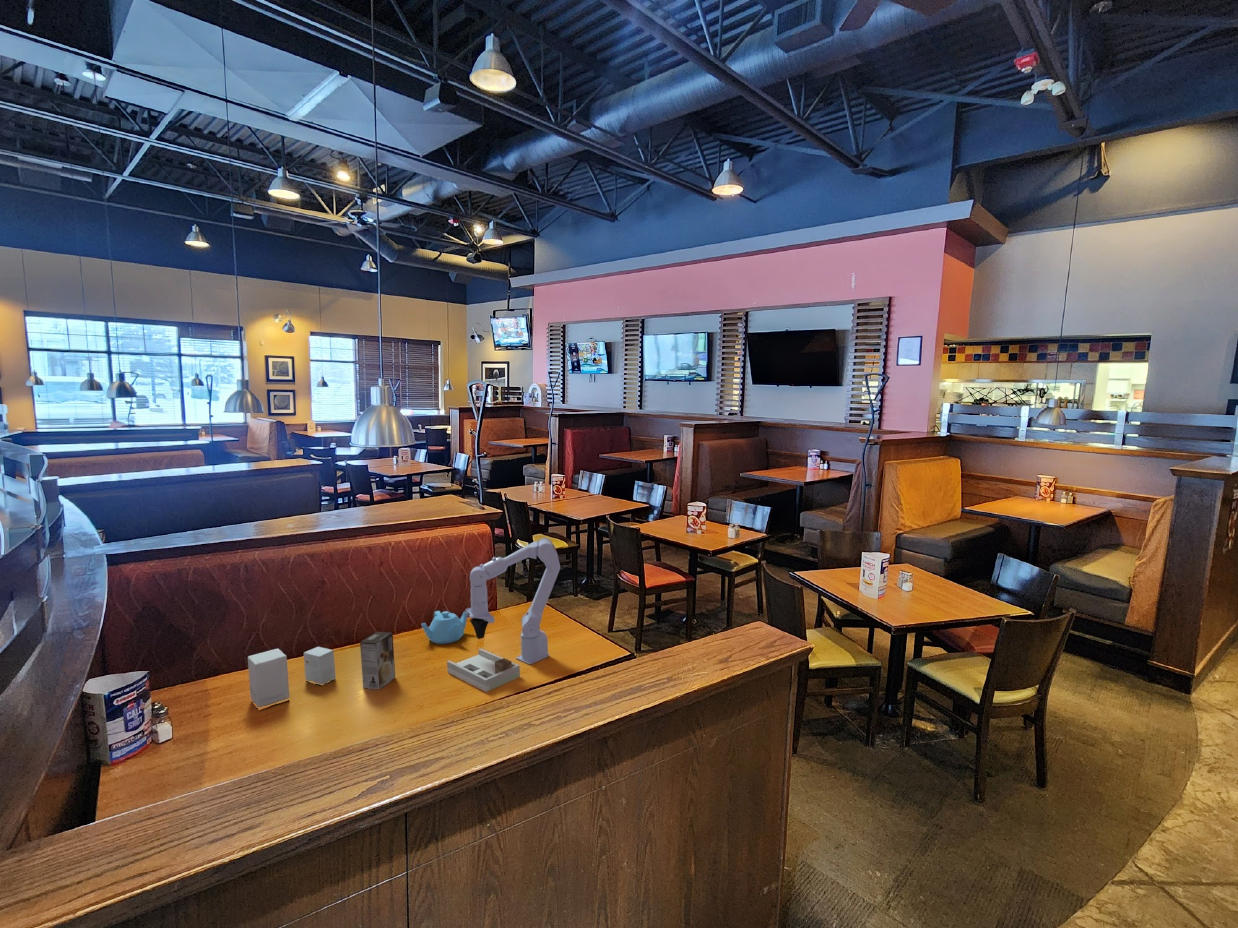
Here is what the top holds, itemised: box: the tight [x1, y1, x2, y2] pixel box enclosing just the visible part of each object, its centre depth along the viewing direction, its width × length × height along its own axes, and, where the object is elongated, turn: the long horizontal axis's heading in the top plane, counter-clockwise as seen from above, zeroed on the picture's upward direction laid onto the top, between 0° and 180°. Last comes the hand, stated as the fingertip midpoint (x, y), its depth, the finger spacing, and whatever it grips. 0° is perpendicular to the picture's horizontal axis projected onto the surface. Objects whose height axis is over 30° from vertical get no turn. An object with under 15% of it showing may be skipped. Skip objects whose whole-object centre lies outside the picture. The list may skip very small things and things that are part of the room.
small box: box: [303, 646, 337, 684], centre depth 195 cm, size 8×6×10 cm
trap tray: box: [446, 647, 521, 693], centre depth 198 cm, size 14×22×4 cm, turn 49°
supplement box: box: [247, 648, 290, 707], centre depth 181 cm, size 9×9×15 cm
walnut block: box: [495, 657, 513, 674], centre depth 195 cm, size 4×4×4 cm
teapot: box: [420, 610, 469, 645], centre depth 230 cm, size 15×15×11 cm
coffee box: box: [359, 631, 396, 690], centre depth 193 cm, size 9×6×16 cm
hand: (480, 637), depth 207 cm, fingers closed
